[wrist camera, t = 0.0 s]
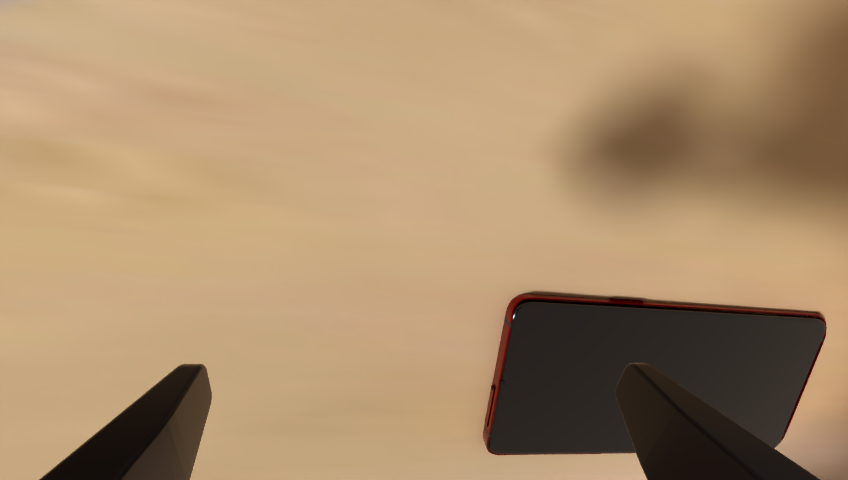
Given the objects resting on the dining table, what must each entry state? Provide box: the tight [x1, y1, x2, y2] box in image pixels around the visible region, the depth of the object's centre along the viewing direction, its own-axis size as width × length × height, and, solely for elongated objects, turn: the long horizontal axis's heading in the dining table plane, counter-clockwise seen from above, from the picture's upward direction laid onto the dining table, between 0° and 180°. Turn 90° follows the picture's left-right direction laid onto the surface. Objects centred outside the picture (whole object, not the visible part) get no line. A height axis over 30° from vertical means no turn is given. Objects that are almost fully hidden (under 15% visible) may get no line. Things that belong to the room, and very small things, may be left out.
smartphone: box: [483, 294, 826, 455], centre depth 29 cm, size 12×2×25 cm
